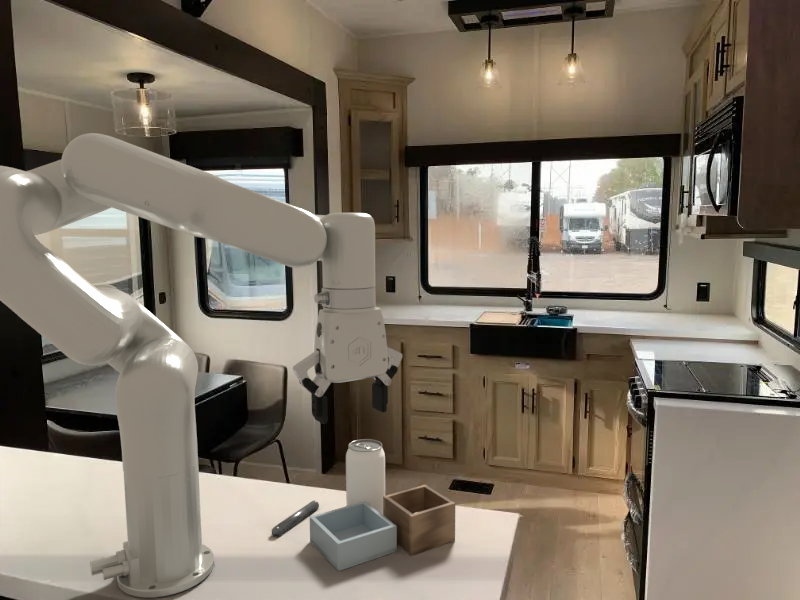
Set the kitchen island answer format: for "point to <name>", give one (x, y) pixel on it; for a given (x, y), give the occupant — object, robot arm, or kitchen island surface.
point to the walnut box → (420, 518)
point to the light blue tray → (352, 535)
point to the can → (365, 473)
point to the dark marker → (294, 518)
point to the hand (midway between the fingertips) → (350, 415)
